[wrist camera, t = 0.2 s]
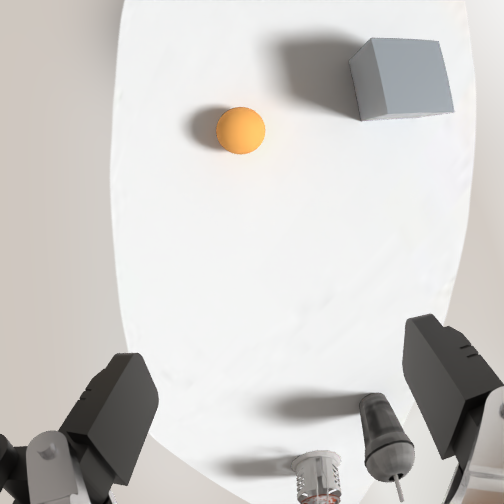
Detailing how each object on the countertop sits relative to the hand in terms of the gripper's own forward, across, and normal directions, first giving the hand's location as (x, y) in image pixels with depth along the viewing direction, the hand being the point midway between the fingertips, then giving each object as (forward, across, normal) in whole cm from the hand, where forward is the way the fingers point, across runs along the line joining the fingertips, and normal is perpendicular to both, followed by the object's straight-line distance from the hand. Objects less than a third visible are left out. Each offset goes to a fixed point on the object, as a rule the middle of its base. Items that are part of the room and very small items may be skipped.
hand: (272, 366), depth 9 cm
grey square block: (+29, -15, -11) cm, 34 cm away
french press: (+28, -2, +49) cm, 57 cm away
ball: (+26, +2, -8) cm, 27 cm away
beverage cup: (+29, -12, +34) cm, 46 cm away
